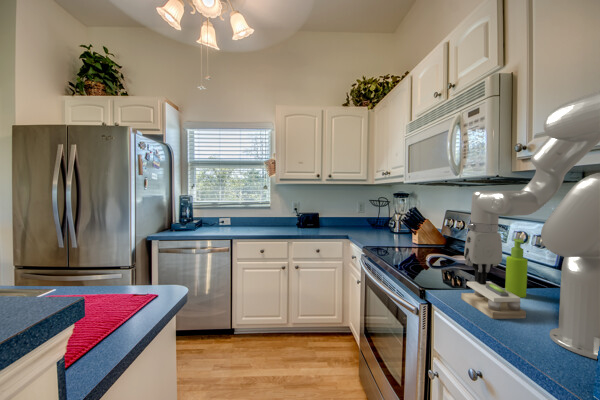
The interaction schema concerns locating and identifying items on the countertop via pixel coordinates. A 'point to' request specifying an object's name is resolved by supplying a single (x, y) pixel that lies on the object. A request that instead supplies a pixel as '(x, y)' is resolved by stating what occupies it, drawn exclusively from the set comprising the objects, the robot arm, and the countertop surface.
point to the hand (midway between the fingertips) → (480, 282)
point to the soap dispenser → (516, 271)
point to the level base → (491, 313)
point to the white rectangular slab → (494, 292)
